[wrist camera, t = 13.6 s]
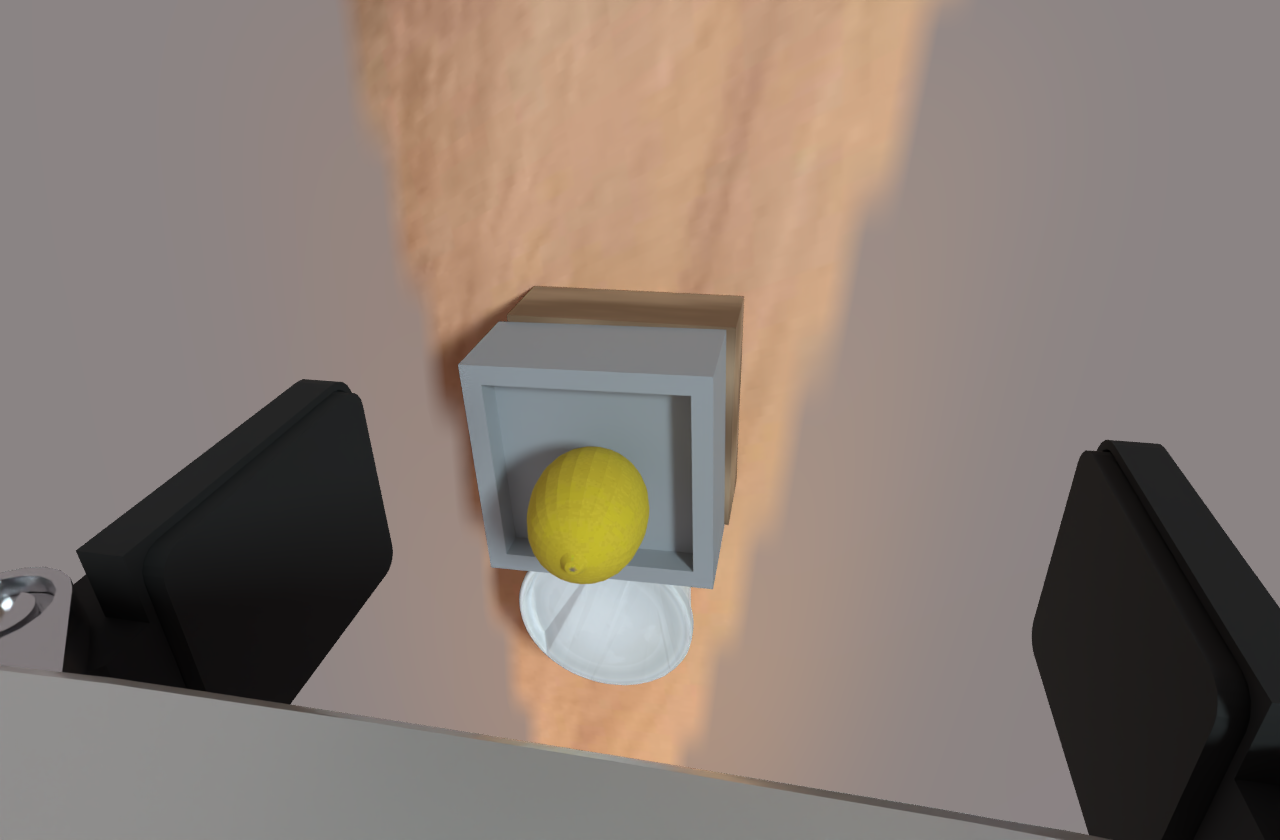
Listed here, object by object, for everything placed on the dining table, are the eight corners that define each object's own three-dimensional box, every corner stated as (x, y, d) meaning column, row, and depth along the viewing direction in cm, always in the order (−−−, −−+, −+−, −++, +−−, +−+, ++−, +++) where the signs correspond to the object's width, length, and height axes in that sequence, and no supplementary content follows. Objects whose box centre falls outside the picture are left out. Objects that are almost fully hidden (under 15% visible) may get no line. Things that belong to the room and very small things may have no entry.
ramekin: (529, 498, 54) (502, 546, 49) (695, 500, 51) (682, 551, 47) (557, 627, 59) (534, 681, 54) (709, 634, 56) (699, 692, 52)
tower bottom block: (536, 283, 46) (506, 315, 42) (744, 293, 44) (736, 327, 40) (551, 460, 52) (527, 504, 48) (736, 477, 50) (728, 524, 46)
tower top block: (498, 321, 42) (458, 364, 38) (726, 329, 40) (713, 376, 35) (523, 509, 48) (491, 567, 43) (724, 525, 46) (712, 589, 41)
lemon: (550, 504, 42) (511, 612, 35) (546, 412, 39) (503, 510, 32) (655, 513, 42) (636, 624, 35) (659, 421, 39) (639, 522, 32)
